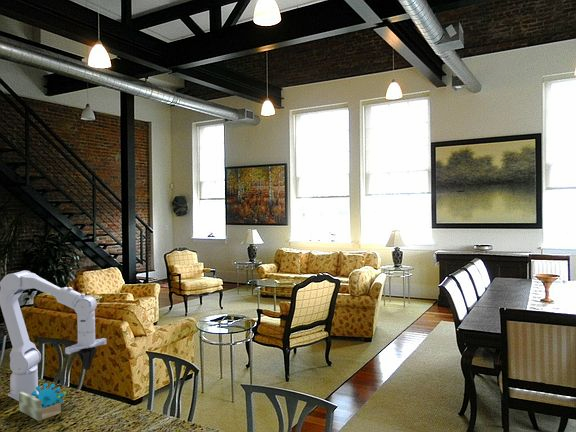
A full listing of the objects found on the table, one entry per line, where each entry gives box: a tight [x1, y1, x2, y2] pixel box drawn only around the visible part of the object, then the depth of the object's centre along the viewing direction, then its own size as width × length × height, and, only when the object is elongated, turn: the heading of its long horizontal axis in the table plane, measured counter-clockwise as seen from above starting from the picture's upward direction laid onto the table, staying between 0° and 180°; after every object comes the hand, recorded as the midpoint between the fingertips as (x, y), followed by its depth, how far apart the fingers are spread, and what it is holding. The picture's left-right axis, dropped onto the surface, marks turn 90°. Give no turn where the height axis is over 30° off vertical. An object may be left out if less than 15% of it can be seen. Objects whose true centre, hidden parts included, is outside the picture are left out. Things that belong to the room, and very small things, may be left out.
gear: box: [31, 382, 67, 409], centre depth 153 cm, size 11×6×10 cm
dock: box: [18, 392, 62, 422], centre depth 149 cm, size 13×7×6 cm, turn 54°
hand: (86, 368), depth 162 cm, fingers closed
